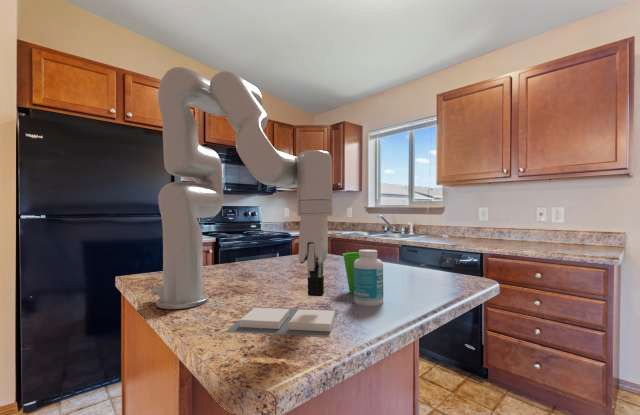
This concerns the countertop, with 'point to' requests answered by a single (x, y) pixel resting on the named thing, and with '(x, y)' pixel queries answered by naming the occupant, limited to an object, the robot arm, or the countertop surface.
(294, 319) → the tile
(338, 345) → the countertop surface
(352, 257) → the cup
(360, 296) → the pill bottle
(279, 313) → the tile
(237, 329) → the mat
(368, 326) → the countertop surface
